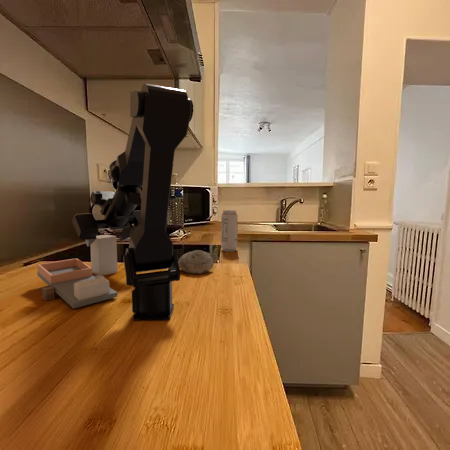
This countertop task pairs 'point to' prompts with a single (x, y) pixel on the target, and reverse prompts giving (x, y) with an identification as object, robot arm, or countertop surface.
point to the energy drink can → (229, 230)
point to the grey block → (104, 255)
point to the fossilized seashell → (196, 262)
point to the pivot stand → (49, 291)
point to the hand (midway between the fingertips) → (104, 242)
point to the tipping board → (75, 282)
